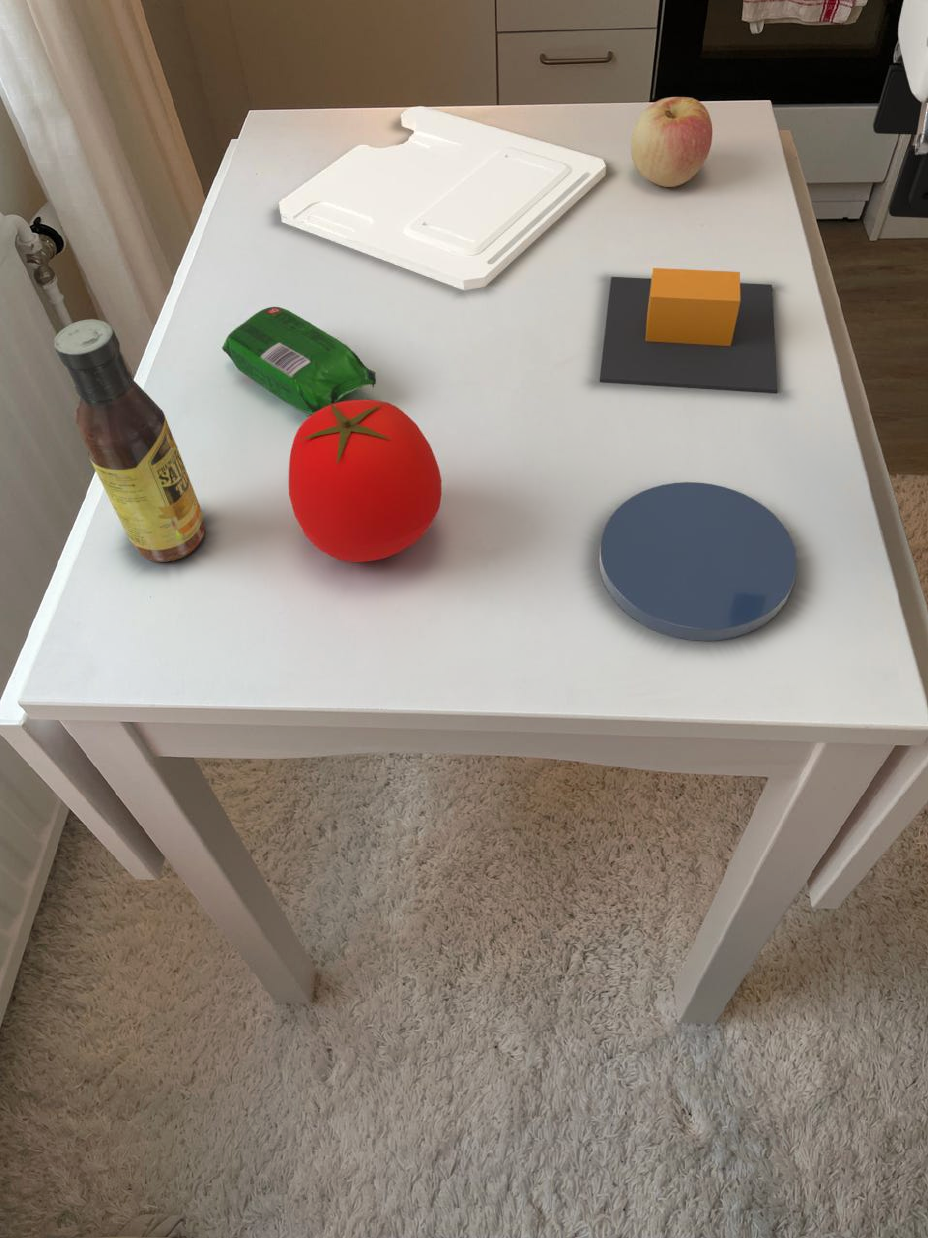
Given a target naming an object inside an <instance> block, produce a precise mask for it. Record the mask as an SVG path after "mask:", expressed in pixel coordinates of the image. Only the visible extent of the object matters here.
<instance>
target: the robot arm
mask: <svg viewBox="0 0 928 1238" xmlns="http://www.w3.org/2000/svg"><path fill="white" fill-rule="evenodd" d="M897 30H898V31H897V36H898V40H897V43H896V45H895V48H894V52H893V64H889V68H888V71H887V75H886V77H885V78H886V79H885V82H884V85H883V88H882V91H881V95H880V98H879V101H878V106H877V109H876V112H875V116H874V119H873V123H872V128H873V129H872V130H873V132H874V133H875V134H879V135H880V134H881V135H882V134H883V135H909V136H910V135H913V136H915V135H916V136H915V137H916V138H915V144H913V145H912V144H909V145H907V148H906V151H905V154H904V157H903V160H902V163H901V166H900V168H899V172H898V175H897V179H896V181H895V183H894V184H895V185H894V187H893V191H892V194H891V197H890V200H889V203H888V207H887V209H888V213H889V215H890V216H891V217H894V218H918V219H919V218H920V219H928V0H903V2H902V5H901V11H900V14H899V20H898V28H897Z"/></svg>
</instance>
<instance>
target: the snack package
mask: <svg viewBox="0 0 928 1238" xmlns="http://www.w3.org/2000/svg"><path fill="white" fill-rule="evenodd" d="M221 350H222V351H223V352H224V353H226V354H227V355H228V357H229V359H230V360H231V361H232V362H233V363H234V365H235V367H236V368H237V370H238V371H239V372H241V373H242V374H244V375H245V376H246V377H248V378H250V379H251V380H253V381H255V382H256V383H258V384H260V385H261V386H263V388H265V389H266V390H267V391H269V392H270V393H271V394H273V395H274V396H276V397H278V398H279V399H281V400H282V401H283V402H285V403H287V404H288V405H290V406H292V407H294V408H295V409H297V410H299V411H301V412H303V413H305V414H307V415H313V414H314V413H315V412H317V411H319V410H321V409H322V408H324V407H326V406H329V405H330V403H331V404H335V403H338V402H339V401H340V400H341V399H342V398H343V397H345V396H346V395H348V394H349V393H352V392H354V391H356V390H358V389H360V388H363V387H365V386H367V385H371V386H372V388H374V387H375V385H376V384H377V378H376V371H374V370H371V369H369V368H368V367H367V366H365V364H364V363H363V362H362V360H361V359H360V358H359V356H358V355H357V354H356V353H355V352H354V351H353V350H352V349H351V348H350V347H349V346H347V344H345V343H343V342H342V341H340V340H339V339H337V338H336V337H334V336H332V335H331V334H329V333H328V332H326V331H324V330H323V329H320V328H319V327H317V326H316V325H314V324H312V323H311V322H309V321H308V320H306V319H304V318H302V317H301V316H299V315H297V314H295V313H294V312H292V311H290V310H288V309H286V308H283V307H280V306H269V307H266V308H264V309H261V310H260V311H258V312H255V314H253V315H252V316H250V317H249V318H248V319H247V320H245V321H244V322H243V323H242V324H240V325H238V326H237V327H236V328H234V330H232V331H231V332H230V333H229V334H228V335H227V337H226V339H225V342H224V343H223V345H222V347H221ZM329 402H330V403H329Z"/></svg>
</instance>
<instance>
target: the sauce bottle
mask: <svg viewBox="0 0 928 1238" xmlns="http://www.w3.org/2000/svg"><path fill="white" fill-rule="evenodd" d="M53 343H54V349H55V352H56V353H57V356H58V358H59V360H60V361H61V363H62V364H63V366H64V367H65V368H67V371H68V373H69V375H70V377H71V379H72V382H73V383H74V386H75V387H74V388H75V391H76V393H77V394H78V396H79V403H78V407H77V408H76V417H75V418H76V419H75V420H76V421H75V423H76V427H77V429H78V430H77V431H78V434H79V436H80V438H81V440H82V442H83V444H84V445H85V447H86V449H87V454H88V457H89V461H90V462H91V464H92V466H93V469H94V470H95V473H96V474H97V476H98V479H99V481H100V482H101V484H102V487H103V489H104V491H105V493H106V495H107V498H108V499H109V502H110V504H111V505H112V507H113V509H114V511H115V514H116V515H117V518H118V520H119V522H120V524H121V526H122V528H123V530H124V532H125V534H126V536H127V538H128V539H129V541H130V542H131V543H132V545H133V546H134V548H135V549H136V551H137V553H139V554H140V555H141V556H143V558H145V559H147V560H149V561H152V562H156V563H167V562H171V561H177V560H180V559H183V558H186V557H187V556H188V555H190V554H191V553H192V552H193V551H195V550H196V548H198V547H199V545H200V544H201V542H202V540H203V538H204V536H205V530H206V526H205V521H204V518H203V510H202V508H201V505H200V503H199V499H198V498H197V495H196V493H195V490H194V486H193V485H192V481H191V479H190V477H189V475H188V474H189V473H188V472H187V471H188V470H187V468H186V466H185V464H184V461H183V459H182V455H181V453H180V451H179V448H178V445H177V444H176V441H175V438H174V436H173V433H172V431H171V427H170V425H169V422H168V420H167V418H166V415H165V413H164V411H163V410H162V409H161V408H160V407H159V405H158V404H157V403H156V402H155V401H154V400H153V399H152V398H151V397H150V395H148V394H147V393H146V392H145V390H144V389H143V388H142V387H141V386H140V385H139V384H138V383H137V382H136V381H135V379H133V376H132V374H131V372H130V371H129V370H128V368H127V365H126V363H125V360H124V358H123V355H122V353H121V351H120V346H121V344H120V341H119V339H118V337H117V334H116V333H115V330H114V328H113V327H112V326H111V324H109V323H108V322H106V321H103V320H101V319H94V318H92V319H91V318H90V319H84V320H79V321H75V322H73V323H71V324H69V325H67V326H66V327H64V328H62V329H61V330H59V332H58V333H57V334H56V336H55V337H54V341H53Z"/></svg>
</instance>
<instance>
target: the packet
mask: <svg viewBox="0 0 928 1238" xmlns="http://www.w3.org/2000/svg"><path fill="white" fill-rule="evenodd" d="M651 272H652V273H651V278H650V279H651V287H650V295H649V303H648V311H647V324H646V339H645V341H648V342H665V343H683V344H701V345H718V346H731V343H732V338H733V334H734V329H735V324H736V320H737V315H738V310H739V306H740V283H741V272H740V271H730V270H729V271H728V270H706V269H686V268H685V269H684V268H663V267H660V268H659V267H652V271H651Z"/></svg>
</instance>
